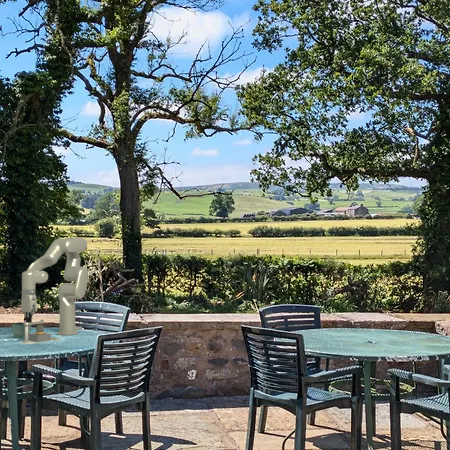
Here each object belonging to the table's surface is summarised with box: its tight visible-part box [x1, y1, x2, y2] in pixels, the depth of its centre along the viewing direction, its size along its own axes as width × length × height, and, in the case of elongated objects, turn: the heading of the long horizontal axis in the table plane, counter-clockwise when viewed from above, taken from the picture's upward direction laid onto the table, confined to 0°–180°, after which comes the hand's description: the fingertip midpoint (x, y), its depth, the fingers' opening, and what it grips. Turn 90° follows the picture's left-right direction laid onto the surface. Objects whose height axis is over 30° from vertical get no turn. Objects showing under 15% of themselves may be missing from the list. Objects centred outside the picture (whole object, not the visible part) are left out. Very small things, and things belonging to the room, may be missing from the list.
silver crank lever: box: [23, 319, 45, 326], centre depth 403 cm, size 13×3×2 cm, turn 139°
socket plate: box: [19, 326, 54, 345], centre depth 404 cm, size 17×10×10 cm, turn 139°
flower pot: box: [11, 321, 32, 339], centre depth 418 cm, size 9×9×9 cm
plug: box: [35, 324, 45, 335], centre depth 406 cm, size 5×5×9 cm
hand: (28, 324), depth 406 cm, fingers closed
